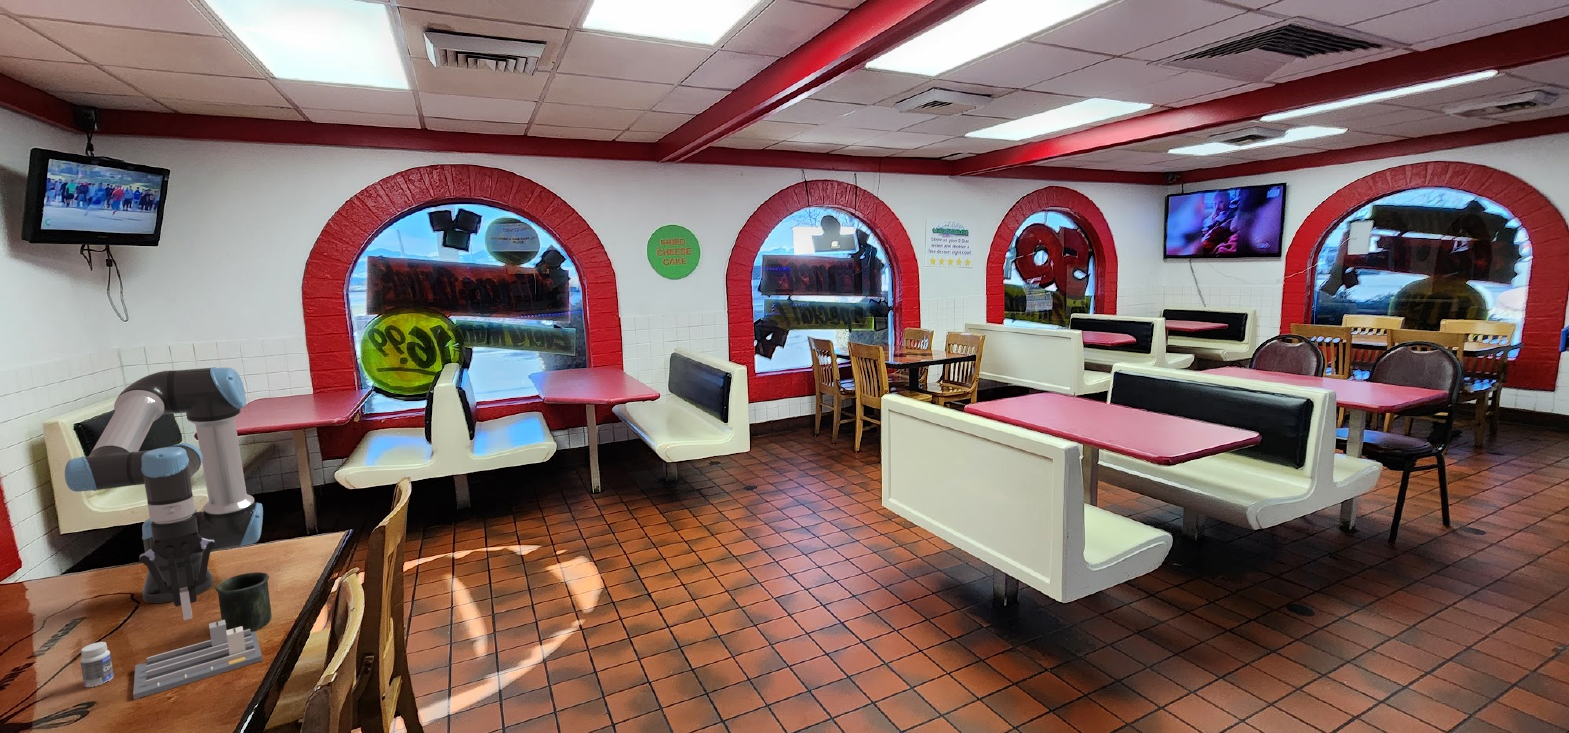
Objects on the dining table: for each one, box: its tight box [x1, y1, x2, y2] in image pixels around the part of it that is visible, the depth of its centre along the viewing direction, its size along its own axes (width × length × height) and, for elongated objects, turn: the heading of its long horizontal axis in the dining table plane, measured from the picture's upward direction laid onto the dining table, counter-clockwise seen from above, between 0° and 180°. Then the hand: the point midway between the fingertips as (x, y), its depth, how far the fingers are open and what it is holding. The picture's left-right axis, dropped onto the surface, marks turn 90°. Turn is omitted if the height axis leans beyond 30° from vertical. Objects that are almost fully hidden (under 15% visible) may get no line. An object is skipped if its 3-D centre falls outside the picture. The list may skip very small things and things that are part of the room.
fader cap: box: [226, 626, 246, 655], centre depth 162 cm, size 3×3×6 cm
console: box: [132, 620, 263, 700], centre depth 159 cm, size 15×22×7 cm
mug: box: [214, 571, 273, 632], centre depth 178 cm, size 11×15×12 cm
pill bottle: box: [80, 641, 114, 688], centre depth 153 cm, size 5×5×8 cm
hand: (187, 616), depth 156 cm, fingers closed
